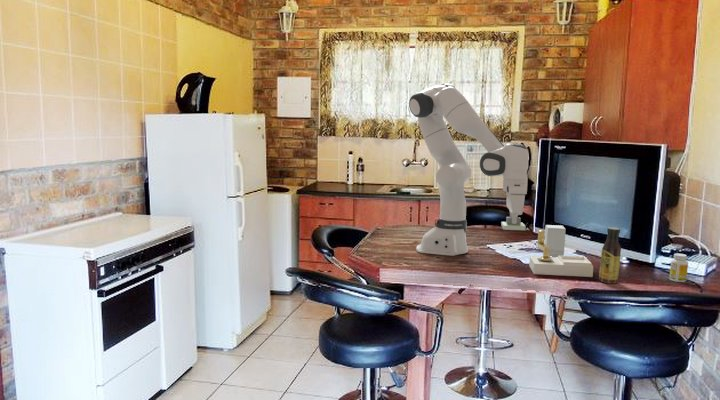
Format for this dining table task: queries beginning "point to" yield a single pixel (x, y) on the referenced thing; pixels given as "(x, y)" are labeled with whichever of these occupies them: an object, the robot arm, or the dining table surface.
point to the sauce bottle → (610, 257)
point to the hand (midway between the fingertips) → (513, 222)
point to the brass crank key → (543, 246)
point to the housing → (562, 266)
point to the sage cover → (510, 226)
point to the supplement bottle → (679, 268)
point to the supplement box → (555, 239)
